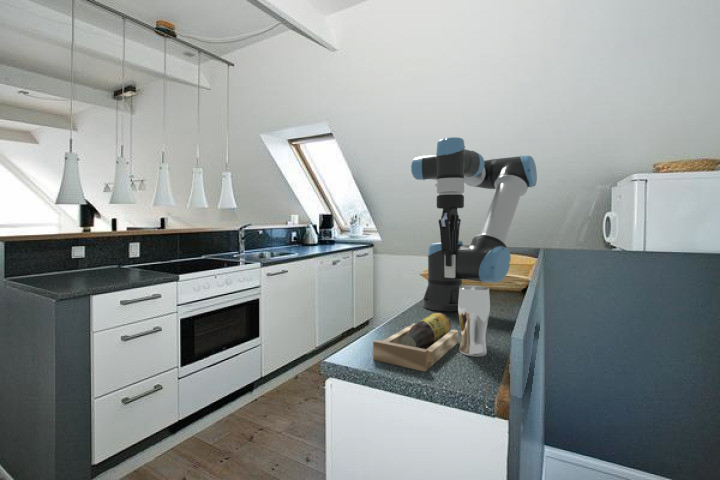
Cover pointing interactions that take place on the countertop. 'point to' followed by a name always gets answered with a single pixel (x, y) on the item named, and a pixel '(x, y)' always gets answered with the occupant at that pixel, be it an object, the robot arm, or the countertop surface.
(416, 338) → the sauce bottle
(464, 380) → the countertop surface
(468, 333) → the beer glass
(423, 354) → the bracket
